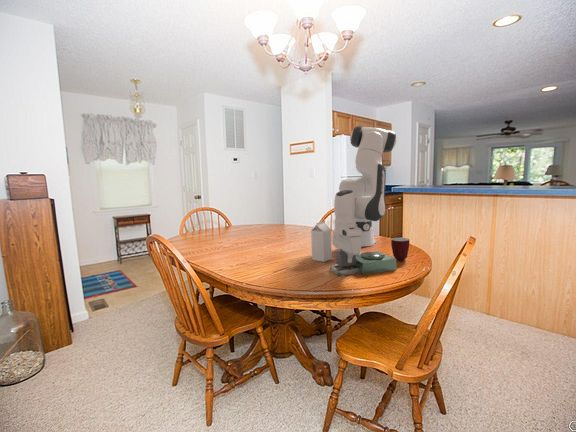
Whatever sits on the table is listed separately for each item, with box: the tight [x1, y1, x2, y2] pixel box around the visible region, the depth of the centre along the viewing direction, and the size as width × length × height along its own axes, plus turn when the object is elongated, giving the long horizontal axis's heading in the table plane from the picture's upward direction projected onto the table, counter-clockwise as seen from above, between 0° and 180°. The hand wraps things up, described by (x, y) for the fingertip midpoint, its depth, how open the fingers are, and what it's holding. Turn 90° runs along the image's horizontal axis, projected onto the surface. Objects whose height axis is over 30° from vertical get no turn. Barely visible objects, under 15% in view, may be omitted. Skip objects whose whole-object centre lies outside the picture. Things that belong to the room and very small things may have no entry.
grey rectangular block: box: [335, 251, 356, 267], centre depth 130 cm, size 5×7×5 cm
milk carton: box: [310, 220, 333, 263], centre depth 150 cm, size 7×7×19 cm
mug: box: [390, 237, 410, 262], centre depth 142 cm, size 11×8×10 cm
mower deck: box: [329, 250, 397, 277], centre depth 133 cm, size 14×26×6 cm, turn 105°
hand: (345, 260), depth 131 cm, fingers closed on grey rectangular block, 5 cm apart
